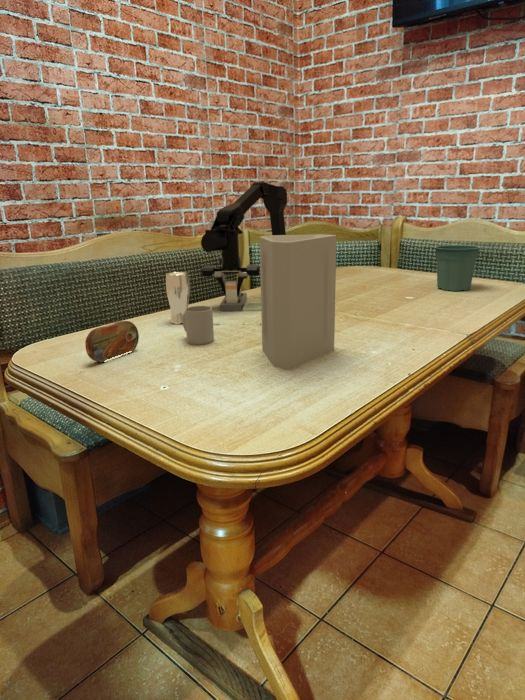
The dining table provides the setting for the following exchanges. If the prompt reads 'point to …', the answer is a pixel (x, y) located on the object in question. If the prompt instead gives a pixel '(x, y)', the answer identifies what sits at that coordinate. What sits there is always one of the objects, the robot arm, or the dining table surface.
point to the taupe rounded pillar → (297, 297)
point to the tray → (252, 307)
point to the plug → (231, 291)
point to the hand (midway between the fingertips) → (232, 296)
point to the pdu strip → (234, 304)
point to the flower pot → (455, 266)
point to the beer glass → (177, 294)
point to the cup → (198, 324)
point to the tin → (111, 340)
